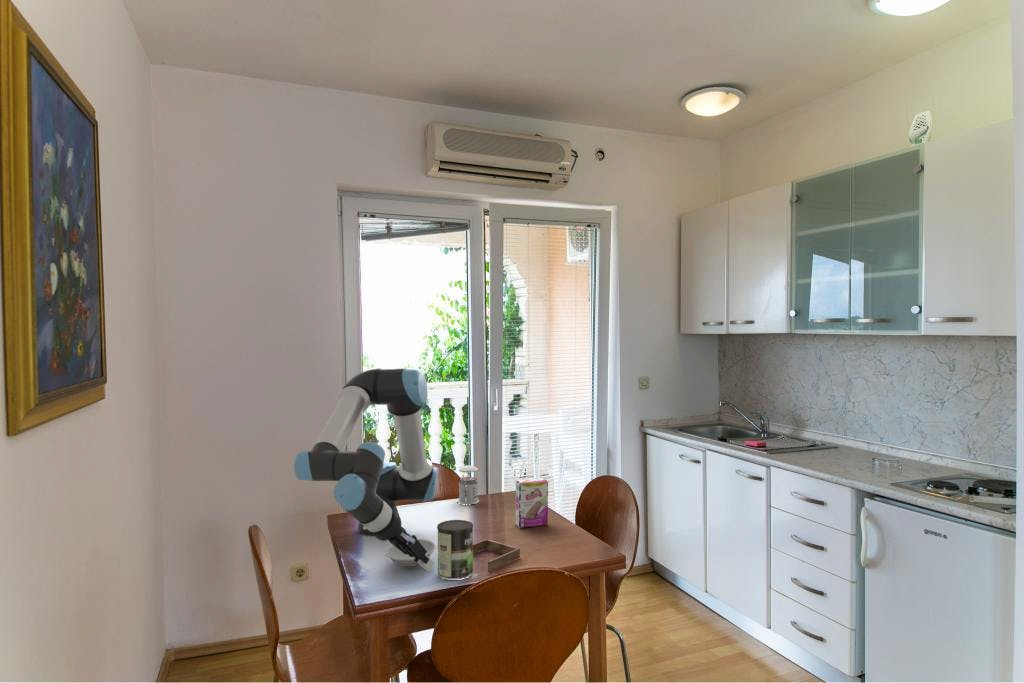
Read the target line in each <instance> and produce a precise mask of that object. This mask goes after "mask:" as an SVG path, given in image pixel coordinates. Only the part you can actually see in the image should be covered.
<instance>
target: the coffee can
mask: <svg viewBox="0 0 1024 683" xmlns="http://www.w3.org/2000/svg"><path fill="white" fill-rule="evenodd" d="M436 526H437V527H436V528H437V577H438V578H440V577H441V578H444V579H462V578H466V577H468V576H470V575H472V574H473V575H474V562H473V561H474V554H473V544H474V542H473V541H474V538H473V537H474V536H473V535H474V534H473V533H474V532H473V529H474V523H472V522H471V521H468V520H465V519H451V520H445V521H444V520H443V521H442V522H439V523H438V524H437V525H436ZM473 575H472V576H473ZM441 578H440V579H441ZM444 579H443V580H444Z"/></svg>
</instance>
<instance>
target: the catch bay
mask: <svg viewBox="0 0 1024 683" xmlns="http://www.w3.org/2000/svg"><path fill="white" fill-rule="evenodd" d="M485 549H486V550H487V549H488V551H491V552H494V553H497V552H498V553H497V554H501V555H499V556H498V557H494V558H492V559H490V560H488V561H487V571H488V572H487V573H492V572H493V570H494V571H496V570H497V569H500V568H502V567H504V566H506V565H505V564H507V565H508V563H509V564H511V563H513V562H515V561H517V560H519V559H518V558H520V559H521V548H519V547H516V546H513V545H509V544H505V543H503V542H502V543H501V542H499V541H494V540H491V539H488V538H484V539H483V540H480V541H477V542H474V543H473V555H475V554H474V553H476V554H478V553H480V552H479V551H481V552H483V551H485ZM482 550H483V551H482ZM477 552H478V553H477ZM516 559H517V560H516ZM514 560H515V561H514ZM512 561H513V562H512ZM510 562H511V563H510Z"/></svg>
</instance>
